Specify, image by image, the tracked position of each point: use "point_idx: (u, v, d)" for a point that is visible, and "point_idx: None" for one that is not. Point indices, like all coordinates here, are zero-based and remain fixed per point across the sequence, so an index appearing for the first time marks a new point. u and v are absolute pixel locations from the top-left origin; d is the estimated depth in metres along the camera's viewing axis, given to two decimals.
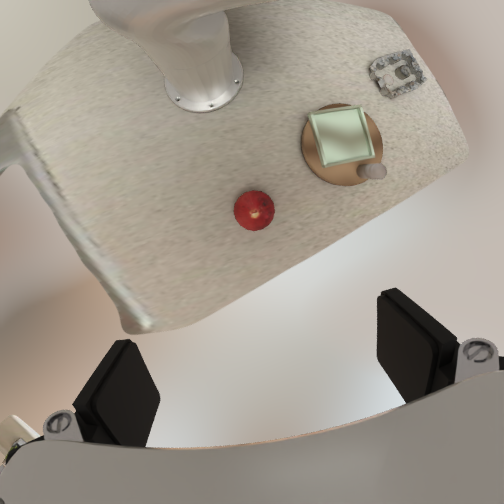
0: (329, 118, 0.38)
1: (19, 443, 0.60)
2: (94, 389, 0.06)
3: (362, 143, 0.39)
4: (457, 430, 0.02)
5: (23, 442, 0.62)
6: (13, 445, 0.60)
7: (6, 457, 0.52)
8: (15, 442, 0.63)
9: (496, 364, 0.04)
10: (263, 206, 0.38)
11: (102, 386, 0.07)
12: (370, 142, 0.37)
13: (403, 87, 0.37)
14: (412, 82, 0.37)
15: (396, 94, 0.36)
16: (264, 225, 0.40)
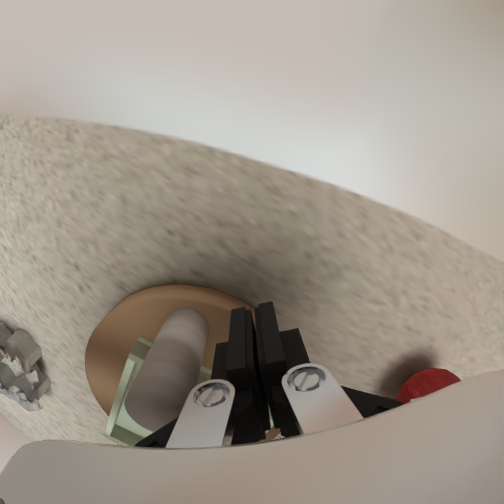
0: None
1: None
2: (245, 352, 0.07)
3: None
4: (457, 430, 0.02)
5: None
6: None
7: None
8: None
9: (333, 381, 0.06)
10: None
11: (247, 348, 0.08)
12: (123, 385, 0.12)
13: None
14: None
15: (9, 358, 0.14)
16: None
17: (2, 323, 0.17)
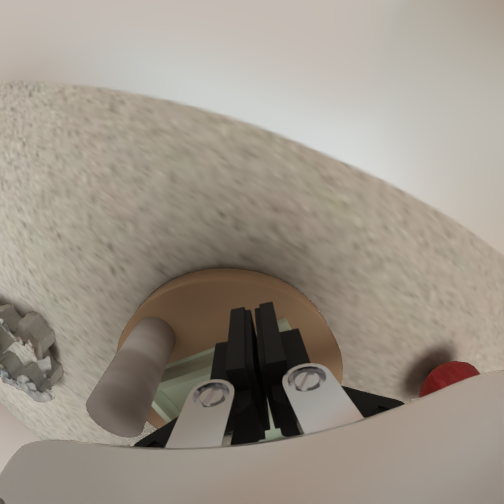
0: None
1: None
2: (244, 352, 0.07)
3: (183, 401, 0.14)
4: (457, 430, 0.02)
5: None
6: None
7: None
8: None
9: (334, 381, 0.06)
10: None
11: (247, 348, 0.08)
12: (166, 417, 0.13)
13: (4, 329, 0.14)
14: None
15: (21, 342, 0.13)
16: None
17: (12, 306, 0.16)
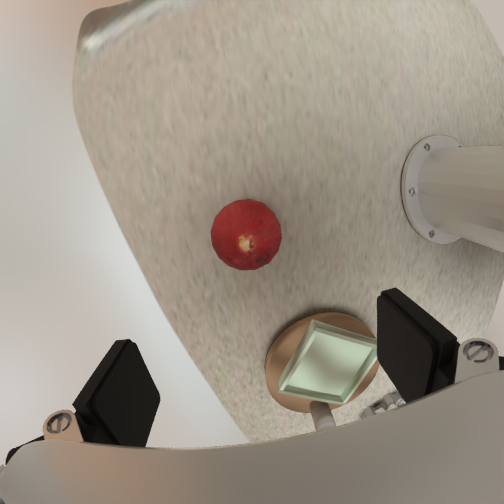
0: (333, 340, 0.26)
1: None
2: (94, 390, 0.06)
3: (344, 382, 0.28)
4: (457, 430, 0.02)
5: None
6: None
7: None
8: None
9: (497, 364, 0.04)
10: (256, 257, 0.21)
11: (102, 386, 0.07)
12: (353, 390, 0.27)
13: None
14: None
15: None
16: (220, 253, 0.22)
17: None
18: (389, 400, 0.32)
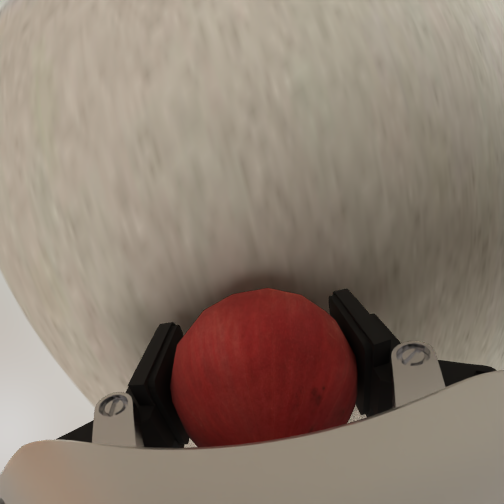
0: None
1: None
2: (150, 369, 0.07)
3: None
4: (457, 430, 0.02)
5: None
6: None
7: None
8: None
9: (435, 363, 0.05)
10: None
11: (156, 366, 0.08)
12: None
13: None
14: None
15: None
16: None
17: None
18: None
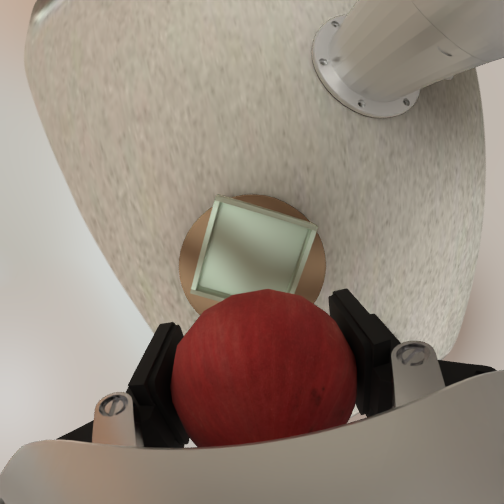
0: (249, 219, 0.23)
1: None
2: (150, 369, 0.07)
3: (280, 285, 0.25)
4: (457, 430, 0.02)
5: None
6: None
7: None
8: None
9: (435, 363, 0.05)
10: None
11: (156, 366, 0.08)
12: (291, 293, 0.24)
13: None
14: None
15: None
16: None
17: None
18: None
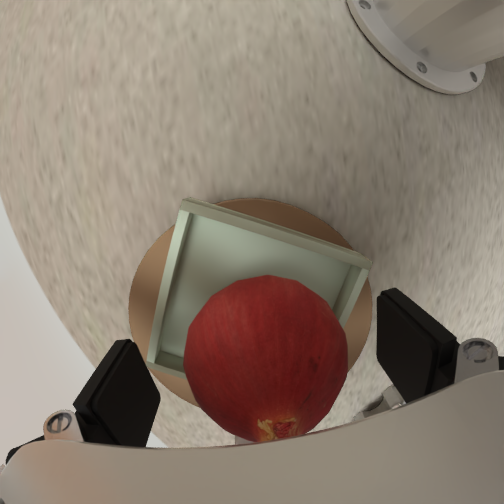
0: (246, 246, 0.13)
1: None
2: (95, 390, 0.06)
3: None
4: (457, 430, 0.02)
5: None
6: None
7: None
8: None
9: (496, 364, 0.04)
10: None
11: (102, 386, 0.07)
12: None
13: None
14: None
15: None
16: (211, 418, 0.08)
17: None
18: (392, 398, 0.18)
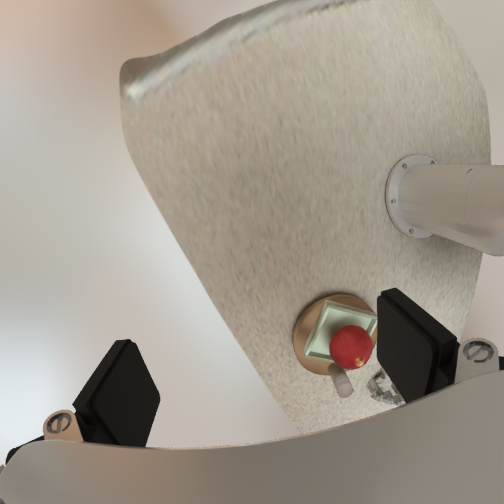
0: (342, 314, 0.37)
1: None
2: (94, 390, 0.06)
3: None
4: (457, 430, 0.02)
5: None
6: None
7: None
8: None
9: (496, 364, 0.04)
10: (362, 365, 0.31)
11: (102, 386, 0.07)
12: None
13: (383, 396, 0.43)
14: (391, 398, 0.44)
15: (373, 397, 0.41)
16: (339, 364, 0.32)
17: None
18: None
